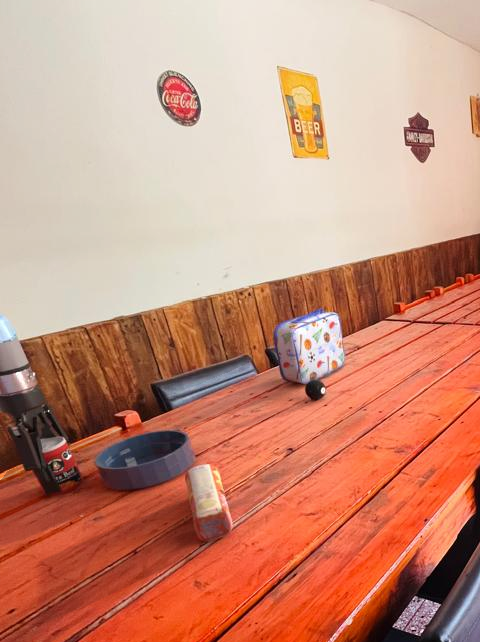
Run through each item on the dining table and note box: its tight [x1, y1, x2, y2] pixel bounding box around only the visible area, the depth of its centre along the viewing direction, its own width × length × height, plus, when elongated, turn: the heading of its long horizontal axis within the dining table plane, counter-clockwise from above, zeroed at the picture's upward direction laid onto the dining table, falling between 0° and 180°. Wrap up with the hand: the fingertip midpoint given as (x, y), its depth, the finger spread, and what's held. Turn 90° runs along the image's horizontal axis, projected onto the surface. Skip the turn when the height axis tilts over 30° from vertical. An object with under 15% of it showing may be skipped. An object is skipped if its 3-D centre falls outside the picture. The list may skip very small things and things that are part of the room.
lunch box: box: [272, 308, 346, 385], centre depth 174 cm, size 28×10×22 cm, turn 159°
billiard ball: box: [304, 379, 327, 400], centre depth 157 cm, size 6×6×6 cm
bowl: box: [94, 429, 197, 491], centre depth 121 cm, size 19×19×6 cm
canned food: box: [31, 436, 84, 496], centre depth 115 cm, size 8×8×11 cm
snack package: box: [184, 463, 234, 543], centre depth 102 cm, size 21×7×7 cm, turn 31°
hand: (62, 482), depth 117 cm, fingers closed on canned food, 8 cm apart
